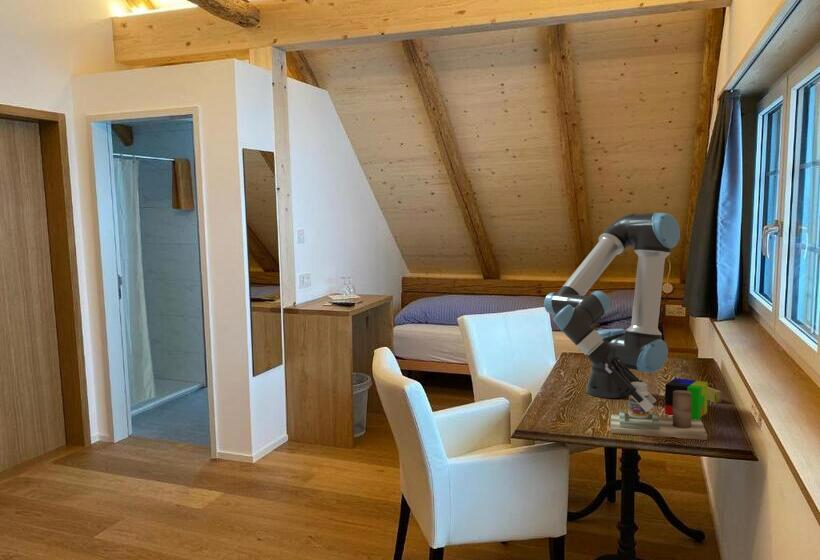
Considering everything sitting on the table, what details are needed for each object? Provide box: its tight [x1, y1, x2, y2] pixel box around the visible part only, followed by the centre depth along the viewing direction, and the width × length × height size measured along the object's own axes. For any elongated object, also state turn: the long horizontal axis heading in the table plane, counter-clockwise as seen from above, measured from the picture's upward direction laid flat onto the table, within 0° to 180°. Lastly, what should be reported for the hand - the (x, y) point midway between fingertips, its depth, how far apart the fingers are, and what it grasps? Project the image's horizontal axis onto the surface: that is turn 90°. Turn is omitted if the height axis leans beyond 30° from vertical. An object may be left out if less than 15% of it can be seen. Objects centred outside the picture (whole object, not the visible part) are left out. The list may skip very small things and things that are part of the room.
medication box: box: [707, 386, 722, 404], centre depth 222 cm, size 12×3×4 cm, turn 15°
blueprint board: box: [610, 390, 708, 441], centre depth 191 cm, size 14×26×12 cm, turn 72°
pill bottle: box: [627, 381, 650, 418], centre depth 192 cm, size 6×6×10 cm
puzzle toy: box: [664, 377, 709, 420], centre depth 205 cm, size 10×10×10 cm
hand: (651, 406), depth 191 cm, fingers closed on pill bottle, 6 cm apart
